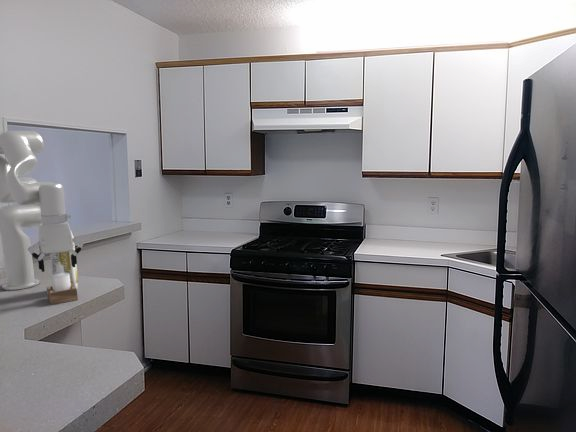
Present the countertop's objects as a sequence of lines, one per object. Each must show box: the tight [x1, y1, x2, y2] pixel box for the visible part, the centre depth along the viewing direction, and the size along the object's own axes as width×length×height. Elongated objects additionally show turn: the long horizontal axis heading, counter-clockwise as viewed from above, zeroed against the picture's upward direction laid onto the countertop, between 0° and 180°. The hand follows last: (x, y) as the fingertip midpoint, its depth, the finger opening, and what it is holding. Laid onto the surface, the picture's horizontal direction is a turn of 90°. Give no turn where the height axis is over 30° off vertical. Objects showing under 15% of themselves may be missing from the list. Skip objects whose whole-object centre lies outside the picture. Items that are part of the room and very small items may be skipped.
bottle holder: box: [46, 283, 79, 306], centre depth 160 cm, size 10×8×4 cm
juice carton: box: [49, 230, 79, 289], centre depth 169 cm, size 9×8×24 cm
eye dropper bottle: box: [51, 262, 71, 292], centre depth 159 cm, size 4×6×12 cm
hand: (58, 268), depth 159 cm, fingers open, 9 cm apart
